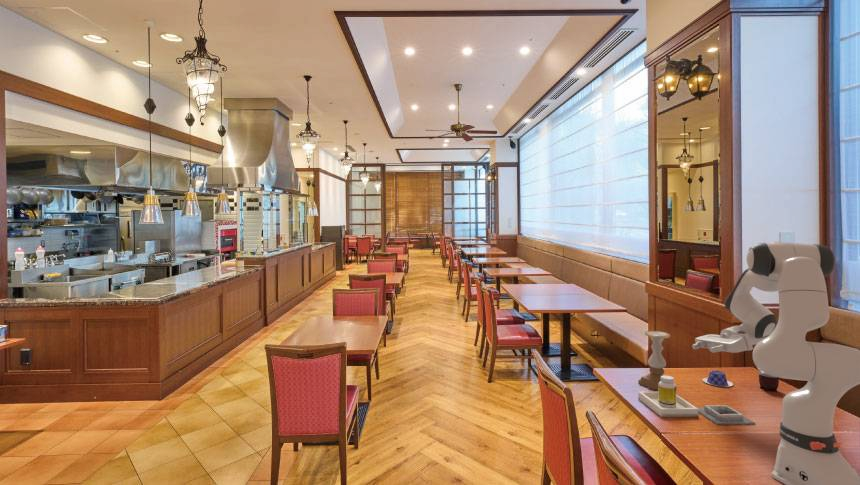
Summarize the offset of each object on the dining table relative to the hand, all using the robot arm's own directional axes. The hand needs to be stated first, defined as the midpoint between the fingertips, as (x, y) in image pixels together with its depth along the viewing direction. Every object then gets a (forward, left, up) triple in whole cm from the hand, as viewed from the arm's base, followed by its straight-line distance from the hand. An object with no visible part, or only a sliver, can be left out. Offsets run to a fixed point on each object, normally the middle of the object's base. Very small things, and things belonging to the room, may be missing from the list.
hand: (702, 348), depth 173 cm
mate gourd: (+21, -43, -24) cm, 54 cm away
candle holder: (+27, +3, -24) cm, 37 cm away
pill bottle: (+3, +12, -23) cm, 26 cm away
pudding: (+30, -27, -25) cm, 47 cm away
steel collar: (-6, -5, -24) cm, 25 cm away
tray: (+3, +12, -24) cm, 27 cm away
